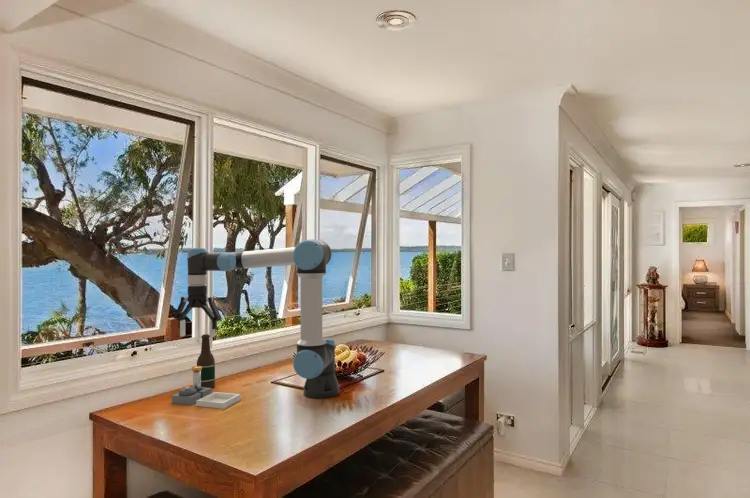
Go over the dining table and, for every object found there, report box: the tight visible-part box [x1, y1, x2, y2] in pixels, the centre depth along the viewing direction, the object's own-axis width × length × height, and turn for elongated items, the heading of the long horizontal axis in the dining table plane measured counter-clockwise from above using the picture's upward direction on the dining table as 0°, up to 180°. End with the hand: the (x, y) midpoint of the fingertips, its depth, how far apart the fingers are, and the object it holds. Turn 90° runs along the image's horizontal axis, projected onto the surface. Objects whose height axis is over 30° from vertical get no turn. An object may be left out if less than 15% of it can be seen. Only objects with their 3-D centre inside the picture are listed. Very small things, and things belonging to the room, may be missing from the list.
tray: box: [195, 391, 242, 412], centre depth 191 cm, size 12×12×3 cm
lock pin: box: [191, 365, 202, 393], centre depth 199 cm, size 4×4×12 cm
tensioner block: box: [171, 386, 213, 406], centre depth 196 cm, size 13×9×7 cm
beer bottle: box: [196, 333, 216, 389], centre depth 213 cm, size 8×8×24 cm
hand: (197, 336), depth 201 cm, fingers open, 13 cm apart
